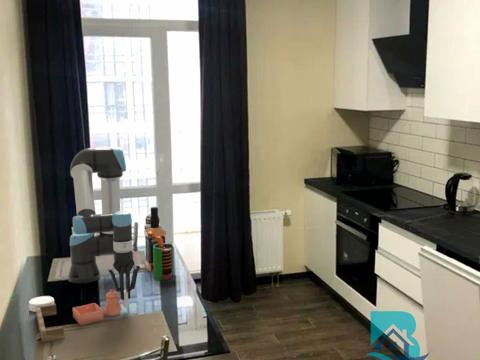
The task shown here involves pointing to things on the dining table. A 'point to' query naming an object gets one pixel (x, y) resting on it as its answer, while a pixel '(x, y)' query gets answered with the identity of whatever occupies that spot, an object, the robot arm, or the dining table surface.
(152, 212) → the whiskey bottle
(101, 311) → the pottery
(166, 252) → the motor
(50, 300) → the coaster
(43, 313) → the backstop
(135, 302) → the dining table surface
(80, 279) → the robot arm
